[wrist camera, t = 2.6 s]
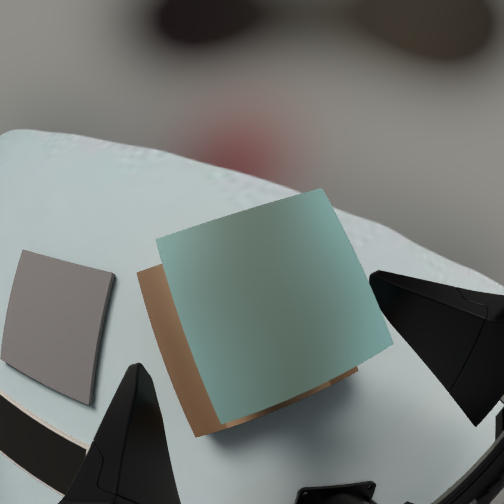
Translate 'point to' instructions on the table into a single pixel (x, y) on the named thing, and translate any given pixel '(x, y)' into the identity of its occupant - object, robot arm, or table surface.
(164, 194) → the table surface
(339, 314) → the peg
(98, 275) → the mat
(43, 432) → the smartphone
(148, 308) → the pocket block
